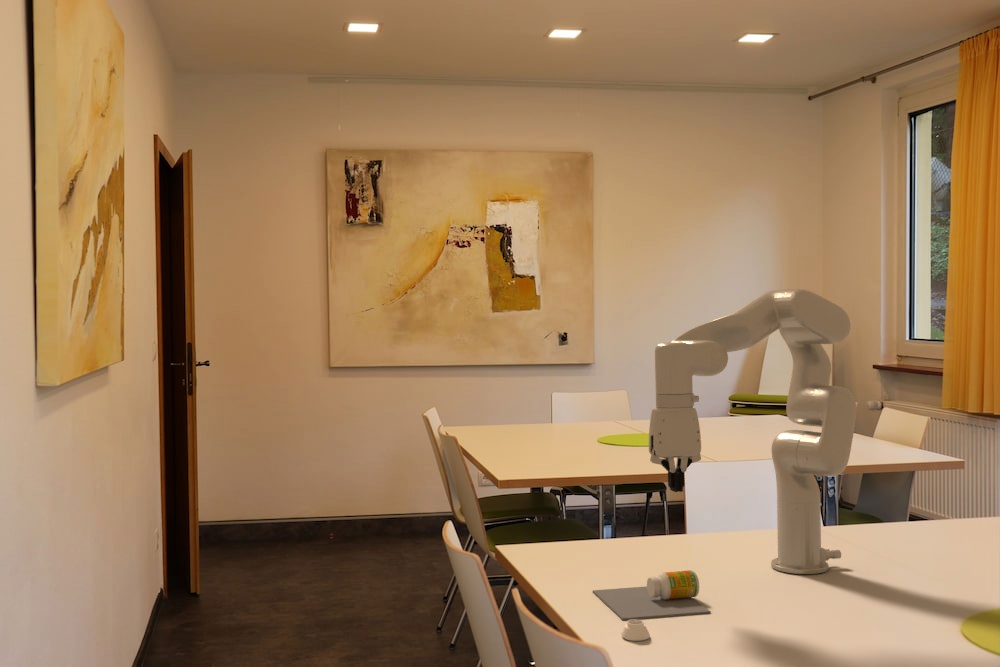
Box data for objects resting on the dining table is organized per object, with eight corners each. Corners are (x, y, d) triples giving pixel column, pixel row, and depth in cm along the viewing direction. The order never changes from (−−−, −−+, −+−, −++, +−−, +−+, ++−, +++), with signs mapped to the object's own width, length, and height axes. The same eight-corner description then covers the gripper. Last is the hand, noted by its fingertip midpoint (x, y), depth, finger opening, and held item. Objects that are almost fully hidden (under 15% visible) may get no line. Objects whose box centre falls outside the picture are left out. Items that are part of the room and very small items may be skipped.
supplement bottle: (702, 585, 193) (657, 589, 190) (695, 602, 196) (651, 606, 194) (692, 564, 197) (649, 568, 195) (686, 581, 200) (643, 585, 198)
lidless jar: (651, 642, 170) (646, 633, 175) (651, 626, 170) (646, 617, 175) (624, 643, 170) (619, 634, 175) (623, 626, 170) (619, 618, 175)
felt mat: (672, 586, 206) (672, 584, 206) (710, 613, 186) (710, 611, 186) (592, 592, 202) (592, 590, 202) (622, 620, 183) (622, 618, 183)
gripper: (700, 399, 202) (703, 485, 202) (633, 402, 199) (635, 490, 199) (715, 402, 195) (717, 491, 195) (646, 405, 192) (648, 496, 192)
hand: (676, 490), depth 197 cm, fingers closed
